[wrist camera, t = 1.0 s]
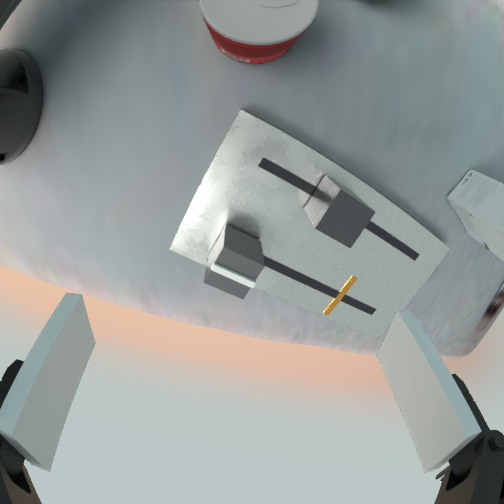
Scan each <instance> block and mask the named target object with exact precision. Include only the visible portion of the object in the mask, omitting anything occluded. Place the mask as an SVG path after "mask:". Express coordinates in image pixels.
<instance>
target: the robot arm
mask: <svg viewBox="0 0 504 504" xmlns="http://www.w3.org/2000/svg"><path fill="white" fill-rule="evenodd" d="M21 1H22V0H0V30H1V29H2V27H3V25H4V24H5V23H6V21H7V20H8V18H9V17H10V15H11V14H12V12H13V11H14V10H15V8H16V7H17V6H18V4H19V3H20V2H21ZM41 106H42V82H41V77H40V73H39V70H38V67H37V65H36V63H35V62H34V60H33V59H32V58H31V57H30V56H29V55H28V54H27V53H25V52H23V51H20V50H11V49H3V50H0V165H2V164H4V163H7V162H9V161H11V160H13V159H15V158H16V157H17V156H19V155H20V154H21V153H22V152H23V150H24V149H25V148H26V147H27V145H28V144H29V142H30V140H31V138H32V136H33V134H34V132H35V130H36V127H37V124H38V121H39V117H40V112H41ZM94 346H95V340H94V337H93V333H92V330H91V326H90V323H89V320H88V316H87V312H86V308H85V304H84V300H83V296H82V294H73V293H66V294H65V296H64V297H63V299H62V300H61V302H60V303H59V305H58V306H57V308H56V309H55V311H54V312H53V314H52V315H51V317H50V319H49V320H48V322H47V324H46V325H45V327H44V328H43V330H42V332H41V333H40V335H39V337H38V338H37V340H36V342H35V343H34V345H33V347H32V349H31V351H30V352H29V354H28V356H27V358H26V360H25V361H21V360H18V359H17V360H16V361H15V362H14V363H12V364H11V365H10V366H9V367H8V368H7V370H6V372H5V374H4V375H3V377H2V381H0V504H42V503H41V501H40V499H39V497H38V495H37V493H36V491H35V488H34V486H33V484H32V481H31V479H30V477H29V474H28V472H27V469H26V468H25V466H24V464H23V463H24V460H25V459H26V460H27V461H29V462H30V463H31V464H32V465H34V466H36V467H38V468H41V469H44V470H46V471H49V472H50V470H51V466H52V463H53V459H54V456H55V453H56V449H57V446H58V442H59V439H60V436H61V433H62V430H63V427H64V424H65V421H66V418H67V415H68V412H69V409H70V407H71V404H72V401H73V398H74V396H75V393H76V390H77V388H78V385H79V383H80V380H81V377H82V375H83V372H84V370H85V367H86V365H87V362H88V360H89V357H90V355H91V353H92V350H93V348H94ZM377 357H378V360H379V362H380V364H381V366H382V369H383V371H384V373H385V375H386V377H387V380H388V382H389V385H390V387H391V389H392V391H393V394H394V396H395V398H396V401H397V403H398V406H399V408H400V410H401V413H402V415H403V418H404V420H405V423H406V425H407V428H408V430H409V433H410V435H411V438H412V440H413V443H414V446H415V448H416V451H417V453H418V456H419V459H420V462H421V464H422V467H423V470H424V473H427V472H429V471H432V470H435V469H437V468H439V467H441V466H442V465H444V464H445V463H446V462H447V461H449V464H450V465H449V466H448V467H447V468H445V469H444V470H443V471H441V472H440V473H439V474H438V475H437V476H436V479H438V478H440V477H441V476H443V475H444V474H445V475H444V477H443V478H442V479H441V481H442V484H441V487H440V490H439V493H438V495H437V498H436V501H435V504H504V435H503V434H502V433H501V432H499V431H498V430H490V429H489V428H488V426H487V424H486V422H485V420H484V418H483V416H482V415H481V412H480V410H479V409H478V407H477V405H476V403H475V401H473V398H472V396H471V394H469V391H468V389H467V387H466V385H465V384H464V382H463V381H462V380H461V379H460V378H459V377H458V376H457V375H456V374H452V375H451V373H450V372H449V370H448V368H447V367H446V365H445V363H444V362H443V360H442V358H441V357H440V355H439V353H438V352H437V350H436V349H435V347H434V345H433V344H432V342H431V341H430V339H429V338H428V336H427V334H426V333H425V331H424V330H423V328H422V327H421V325H420V324H419V322H418V321H417V319H416V318H415V316H414V315H413V313H412V312H411V311H397V313H396V316H395V318H394V320H393V322H392V324H391V326H390V329H389V331H388V333H387V335H386V337H385V339H384V341H383V343H382V345H381V347H380V349H379V351H378V353H377Z"/></svg>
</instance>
